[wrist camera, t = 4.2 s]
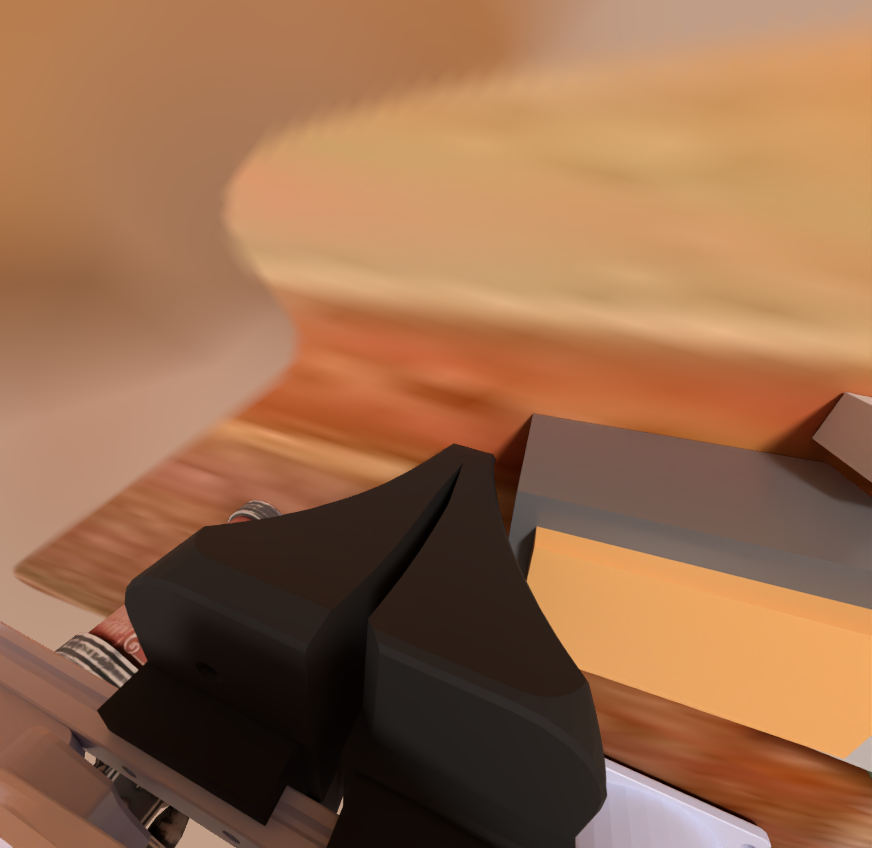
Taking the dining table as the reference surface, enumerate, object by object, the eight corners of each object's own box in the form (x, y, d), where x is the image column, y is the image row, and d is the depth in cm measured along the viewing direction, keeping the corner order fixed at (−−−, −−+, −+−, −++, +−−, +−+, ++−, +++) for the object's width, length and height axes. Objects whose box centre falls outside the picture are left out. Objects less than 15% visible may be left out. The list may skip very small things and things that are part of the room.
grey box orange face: (747, 590, 11) (855, 789, 7) (511, 530, 12) (486, 658, 8) (827, 462, 9) (1049, 638, 5) (533, 413, 10) (513, 509, 6)
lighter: (369, 621, 17) (179, 976, 9) (324, 628, 19) (126, 934, 10) (270, 491, 16) (-84, 771, 7) (229, 511, 17) (-99, 759, 9)
